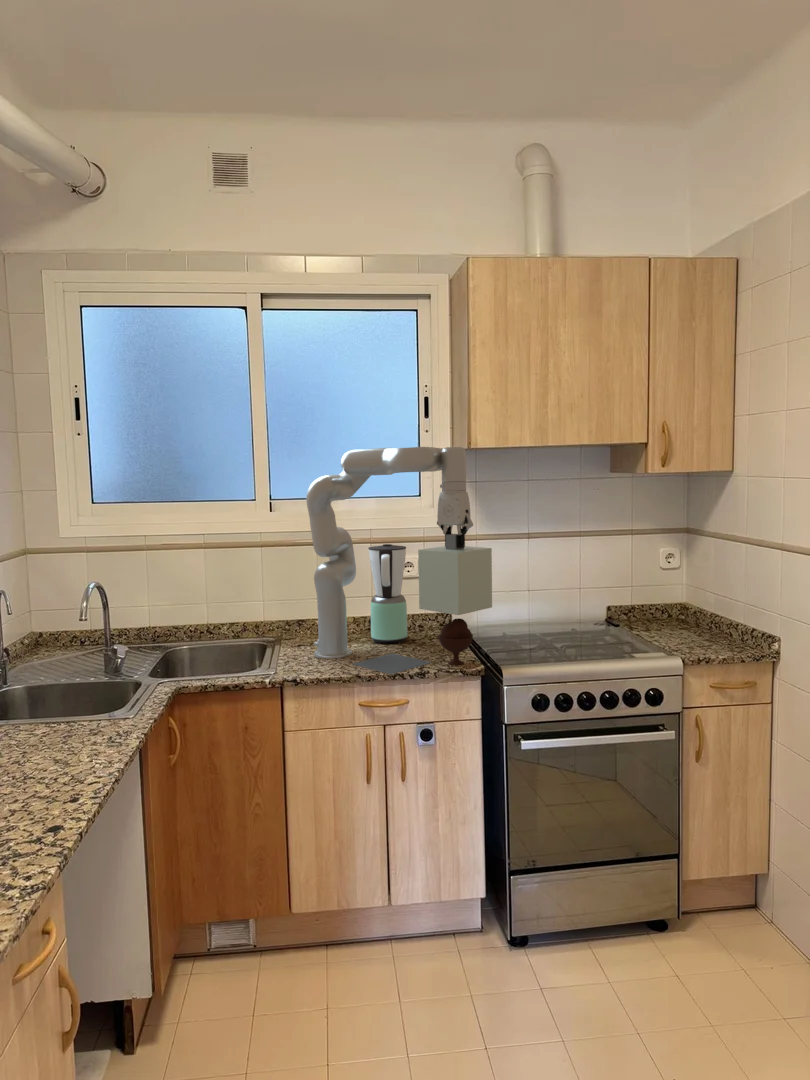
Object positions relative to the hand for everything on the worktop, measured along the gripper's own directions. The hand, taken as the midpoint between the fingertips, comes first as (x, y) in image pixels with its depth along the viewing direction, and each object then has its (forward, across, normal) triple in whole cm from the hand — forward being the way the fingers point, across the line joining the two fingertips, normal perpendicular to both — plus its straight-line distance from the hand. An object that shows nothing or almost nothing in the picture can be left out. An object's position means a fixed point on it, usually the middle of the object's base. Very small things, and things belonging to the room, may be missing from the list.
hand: (454, 546), depth 227 cm
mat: (+37, -16, -13) cm, 43 cm away
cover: (+19, 0, 0) cm, 19 cm away
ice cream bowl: (+38, 0, 0) cm, 38 cm away
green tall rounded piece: (+38, -39, +8) cm, 54 cm away
